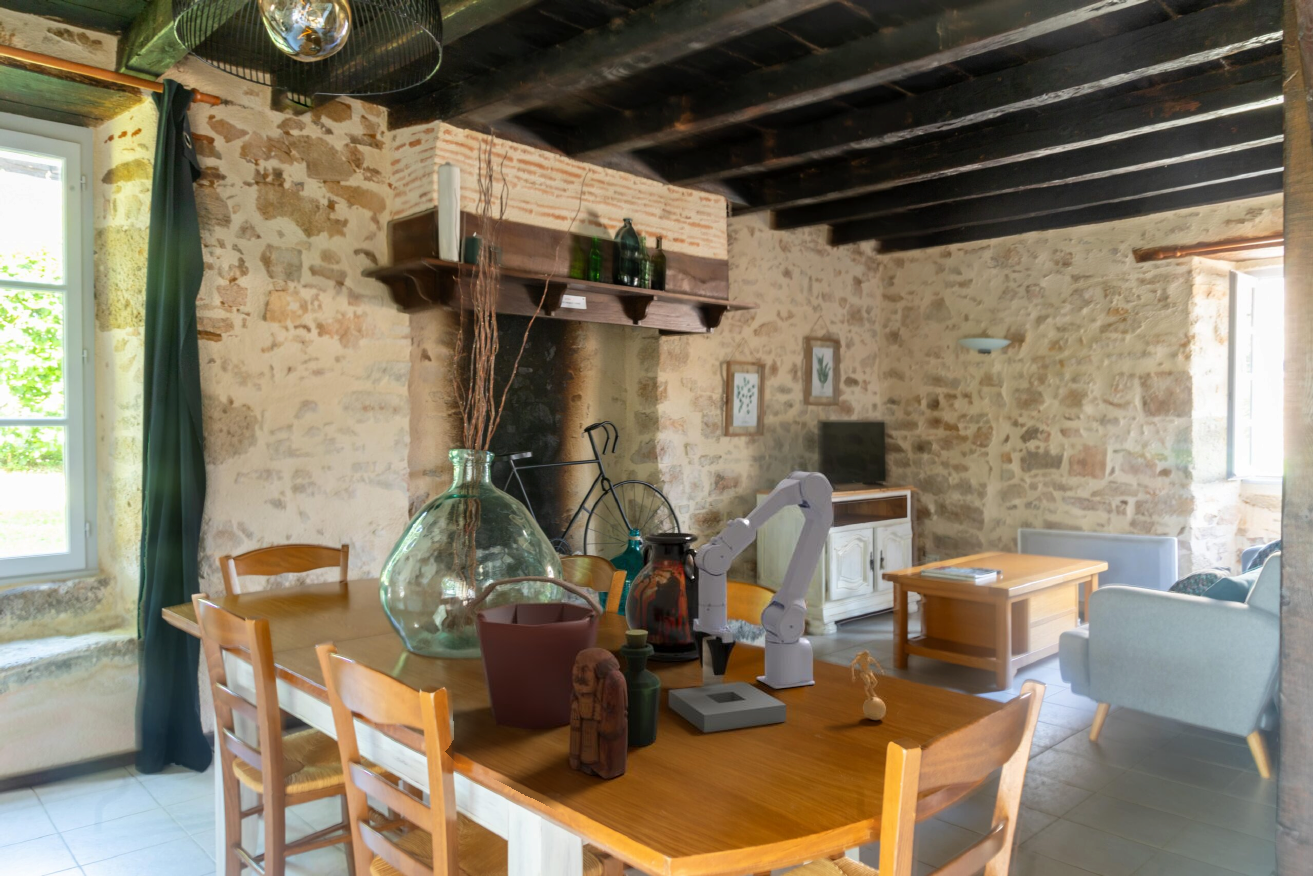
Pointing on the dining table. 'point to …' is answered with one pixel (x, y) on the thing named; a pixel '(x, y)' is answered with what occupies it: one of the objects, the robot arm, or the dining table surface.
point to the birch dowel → (709, 666)
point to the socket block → (726, 706)
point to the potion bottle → (640, 690)
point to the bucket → (533, 654)
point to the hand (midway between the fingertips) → (712, 671)
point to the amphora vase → (666, 596)
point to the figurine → (872, 705)
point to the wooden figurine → (598, 715)
